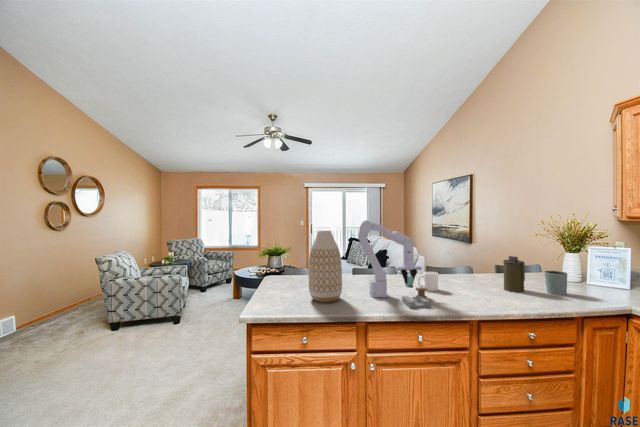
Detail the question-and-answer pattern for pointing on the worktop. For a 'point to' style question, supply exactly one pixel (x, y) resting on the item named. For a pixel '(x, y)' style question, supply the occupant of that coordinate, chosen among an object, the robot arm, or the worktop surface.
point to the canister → (514, 275)
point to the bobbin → (421, 291)
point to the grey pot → (556, 282)
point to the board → (416, 302)
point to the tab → (409, 281)
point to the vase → (325, 268)
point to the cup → (429, 281)
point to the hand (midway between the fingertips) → (408, 282)
